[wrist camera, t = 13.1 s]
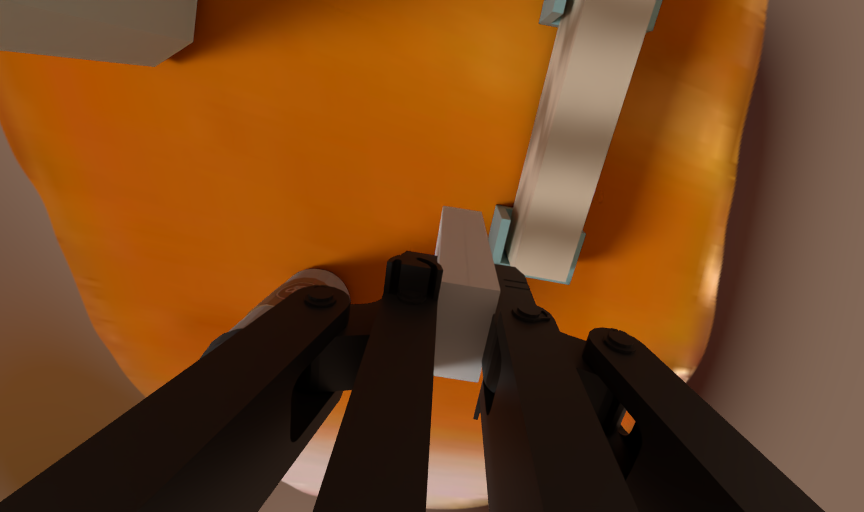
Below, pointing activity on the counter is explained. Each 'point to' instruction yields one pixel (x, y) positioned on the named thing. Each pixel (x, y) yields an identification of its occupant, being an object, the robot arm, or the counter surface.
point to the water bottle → (98, 29)
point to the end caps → (502, 214)
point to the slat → (573, 131)
